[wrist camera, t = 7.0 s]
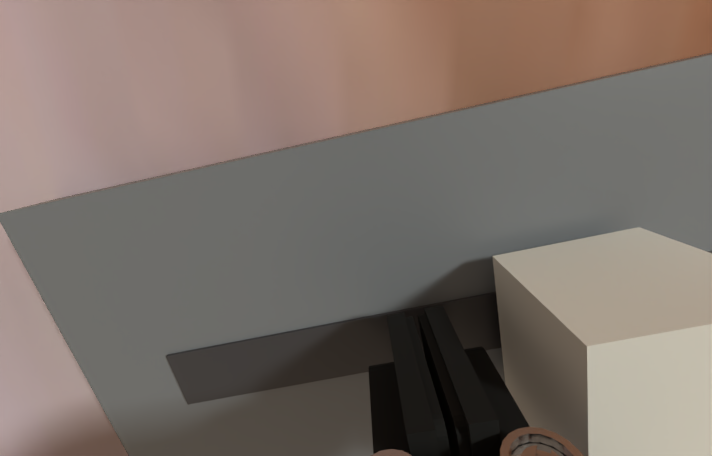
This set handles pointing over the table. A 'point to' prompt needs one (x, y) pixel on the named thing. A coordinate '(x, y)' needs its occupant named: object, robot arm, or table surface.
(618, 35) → the table surface
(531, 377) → the fader tab
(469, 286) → the board
